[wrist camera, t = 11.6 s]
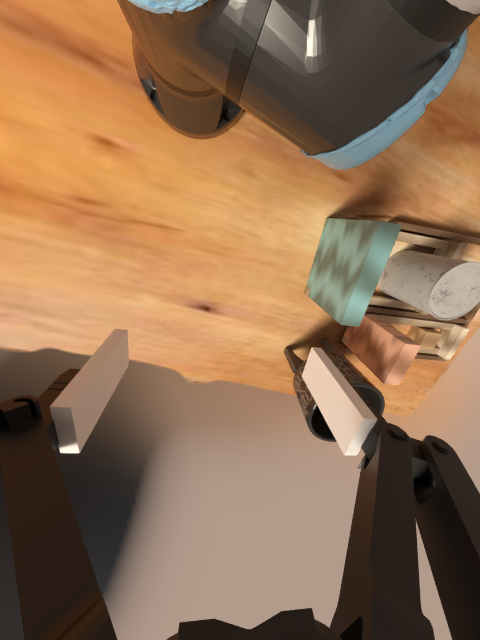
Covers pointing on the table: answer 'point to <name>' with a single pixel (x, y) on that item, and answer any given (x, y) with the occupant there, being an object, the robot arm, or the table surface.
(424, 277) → the speckled stone cylinder
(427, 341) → the oak cube
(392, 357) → the cube sled
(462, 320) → the guide frame
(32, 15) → the table surface
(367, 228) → the can sled
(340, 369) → the planter
